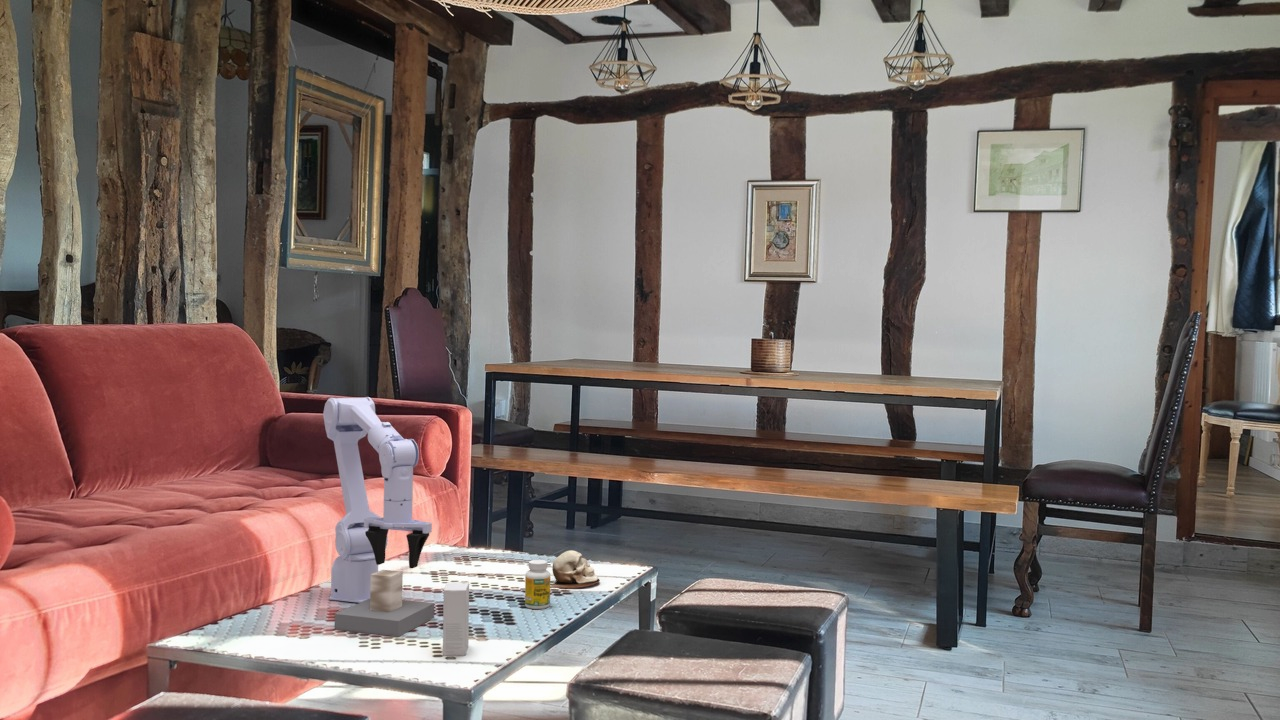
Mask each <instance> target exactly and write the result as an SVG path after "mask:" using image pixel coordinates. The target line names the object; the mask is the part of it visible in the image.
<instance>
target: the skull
mask: <svg viewBox="0 0 1280 720" xmlns="http://www.w3.org/2000/svg"><path fill="white" fill-rule="evenodd" d="M551 570H552V574H553V577H554V580H556V582H554V583H553V584H551V587H553V588H554V587H555V588H559V589H560V588H562V589H574V588H575V589H576V588H583V587H584V588H585V587H590V586H593V585H596V584H597V583H599V582H600V578H599V577H598V575H596V574H595V569H594V568H593V567H592V566H591V564H590V563H588V560H587V559H586V558H584V557H583V554H582V553H581V552H578V551H577V550H566V551H564V552H562V553H561V554H560V555H558V556H557V557H556V558H555V559H553V562H552V569H551Z"/></svg>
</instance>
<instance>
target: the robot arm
mask: <svg viewBox="0 0 1280 720" xmlns="http://www.w3.org/2000/svg"><path fill="white" fill-rule="evenodd" d="M322 417H323V422H324V428H325V433H326V437H327V438H328V439H329V440H330V441H333V445H334V452H335V457H336V462H337V469H338V475H339V481H340V486H341V493H342V498H343V503H344V511H345V515H344V516H343V517H342V518H341V519H339V521H338V522H337V523H336V525H335V526H334V529H335V530H334V531H335V549H336V550H335V551H336V552H337V554H338V556H337V557H336V558H335V559H334V561H333V563H332V566H331V572H330V573H331V574H330V577H331V578H330V579H331V580H330V581H331V582H330V596H329V597H328V600H331V601H340V602H349V603H356V604H358V603H360V602H363V601H365V600H367V599H370V586H371V574H373V573H376V572H378V571H379V565H382V564H385V562H386V549H387V546H388V541H389V540H388V533H389V530H393V531H394V530H395V531H404V532H411V533H407V534H406V540H407V545H408V567H409V569H414V568H417V567H418V566H419V560H420V556H421V554H422V550H423V549H424V546H425V544H426V543H427V540H428V538H429V537H430V533H432V531H433V530H432V529H433V528H432V525H433V522H431V521H430V522H427V521H422V520H417V519H413V496H414V495H413V490H414V489H413V487H414V483H413V482H414V467H416V466H417V465H418V463H419V459H420V458H419V457H420V451H419V447H418V444H417V442H416V440H415V439H413V438H408V439H407V438H404V437H403V436H402V435H401V434H400V433H399V432H398V431H397V430H396V429H395V427H393V426H392V424H391V423H390V422H389V421H386V422H385V421H381V420H380V418H379V416H378V415H377V413H376V405H375V401H373V399H372V398H371V397H369V396H365V397H342V398H341V397H339V398H338V397H337V398H335V397H329V398H328V399H327V401H326V402H325V403H324V408H323V416H322ZM364 437H367V441H368V443H369V444H370V446H372V447H373V449H374V450H375V451H376V452H377V453H378V457H379V458H378V459H379V464H380V467H381V475H382V477H383V517H381V516H379V515H378V514H376V513H375V512H373V511H372V510H371V509H370V507H369V501H368V496H367V495H368V493H367V490H366V483H365V478H364V477H365V476H364V473H363V467H362V461H361V455H360V450H359V445H358V443H359V441H360V440H361V439H363V438H364Z"/></svg>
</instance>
